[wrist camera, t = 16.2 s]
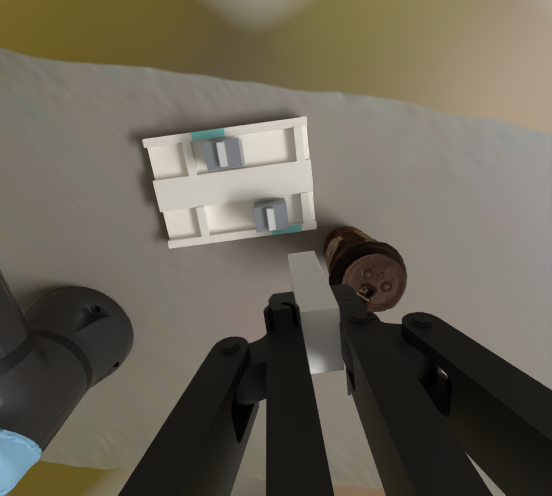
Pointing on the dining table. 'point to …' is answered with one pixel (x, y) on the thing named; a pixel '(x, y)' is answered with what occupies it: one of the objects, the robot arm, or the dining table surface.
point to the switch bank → (232, 182)
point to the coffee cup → (365, 267)
